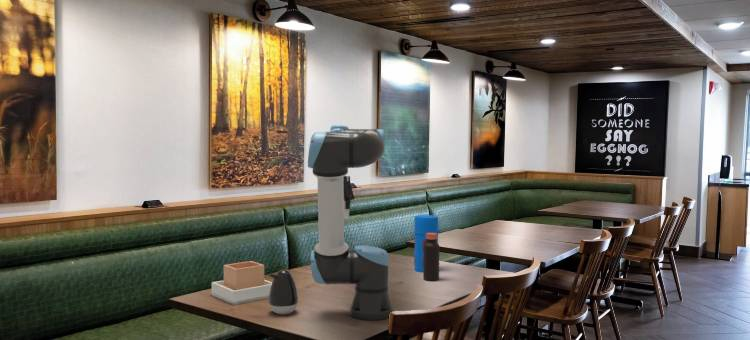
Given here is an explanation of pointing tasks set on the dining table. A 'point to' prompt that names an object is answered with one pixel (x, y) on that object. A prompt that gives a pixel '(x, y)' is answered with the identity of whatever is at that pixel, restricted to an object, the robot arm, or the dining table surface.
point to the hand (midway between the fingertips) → (335, 215)
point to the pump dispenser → (283, 293)
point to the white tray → (241, 293)
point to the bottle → (431, 258)
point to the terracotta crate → (243, 275)
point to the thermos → (423, 237)
